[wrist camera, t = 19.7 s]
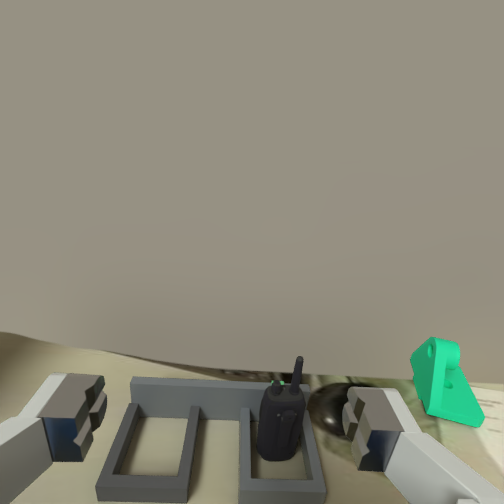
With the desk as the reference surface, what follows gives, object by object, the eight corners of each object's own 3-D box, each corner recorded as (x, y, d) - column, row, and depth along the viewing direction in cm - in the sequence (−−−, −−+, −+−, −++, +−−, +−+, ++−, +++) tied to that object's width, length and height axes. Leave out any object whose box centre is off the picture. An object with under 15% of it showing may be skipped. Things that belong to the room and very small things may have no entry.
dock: (100, 501, 32) (93, 460, 30) (135, 408, 43) (132, 373, 40) (322, 506, 34) (334, 468, 31) (304, 415, 44) (311, 381, 42)
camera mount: (480, 434, 44) (509, 381, 40) (424, 418, 46) (446, 366, 42) (453, 375, 55) (474, 328, 51) (408, 364, 57) (425, 318, 53)
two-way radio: (293, 436, 41) (311, 348, 35) (301, 470, 37) (324, 377, 31) (252, 438, 40) (264, 348, 35) (257, 474, 36) (271, 379, 31)
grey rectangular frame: (97, 501, 32) (95, 486, 31) (130, 416, 42) (129, 403, 41) (186, 503, 33) (186, 488, 32) (199, 418, 42) (199, 406, 41)
